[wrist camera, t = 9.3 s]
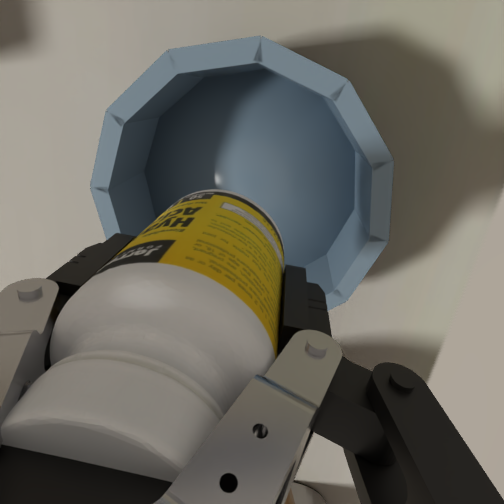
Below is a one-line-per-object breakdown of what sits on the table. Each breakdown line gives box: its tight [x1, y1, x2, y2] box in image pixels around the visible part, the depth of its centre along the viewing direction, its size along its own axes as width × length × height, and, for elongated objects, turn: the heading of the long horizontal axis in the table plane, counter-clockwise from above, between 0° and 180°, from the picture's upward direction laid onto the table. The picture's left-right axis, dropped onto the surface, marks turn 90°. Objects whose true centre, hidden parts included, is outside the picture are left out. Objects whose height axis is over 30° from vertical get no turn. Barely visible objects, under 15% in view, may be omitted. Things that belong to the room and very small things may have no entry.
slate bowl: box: [90, 36, 394, 311], centre depth 21 cm, size 16×16×6 cm
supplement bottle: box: [1, 189, 284, 482], centre depth 10 cm, size 5×5×10 cm
